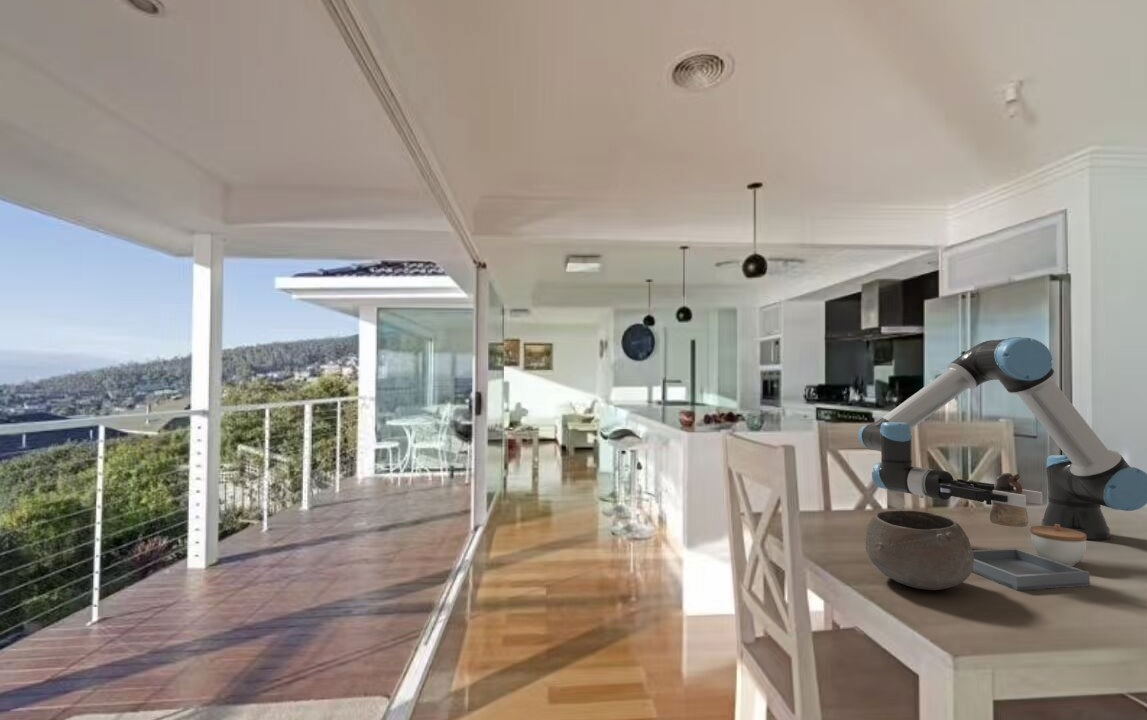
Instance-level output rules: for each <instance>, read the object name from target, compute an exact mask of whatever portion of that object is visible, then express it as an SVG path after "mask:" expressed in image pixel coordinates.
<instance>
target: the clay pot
mask: <svg viewBox="0 0 1147 720" xmlns="http://www.w3.org/2000/svg"><path fill="white" fill-rule="evenodd" d="M864 535H865V536H864V546H865V551H866V553H867V556H868V558H869V559H870V561H871V563H873V565H874V566H875V567H876V568H877V569H878V571H880V572H881V573H882V574H884V575H885V576H886V577H888V578H890V579H891V580H893V581H894V582H897V583H899V584H902V585H904V586H907V587H909V588H914V589H918V590H924V591H926V590H927V591H938V590H939V591H940V590H945V589H949V588H953V587H956V586H958V585H960V584H962V583H963V582H965V581H966V580H967V579H968V578H969V576H970V575H971V573H973V572H972V569H973V563H974V555H973V551H972V550H973V548H972V546H971V543H970V539H969V537H968V535H967V534H966V532H965V531H964V529H963V527H962V526H961V525H960V524H959V523H958V522H957V521H955V520H954V519H953V518H950V517H949V516H945V515H940V514H935V513H933V512H926V511H919V510H918V511H917V510H887V511H886V510H885V511H884V510H882V511H879V512H877V513H876V514H875V515H873V517H872V518H871V519H870V521H869V522H868V524H867V527H866V530H865V534H864Z"/></svg>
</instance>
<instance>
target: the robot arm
mask: <svg viewBox="0 0 1147 720" xmlns="http://www.w3.org/2000/svg"><path fill="white" fill-rule="evenodd" d="M1052 361H1053V355H1052V352H1051V351H1050V349H1049V347H1047V345H1045V344H1044V343H1042V342H1041V341H1039V340H1037V339H1035V338H1030V337H1021V336H1015V337H1013V336H1012V337H1009V338H1002V339H991V340H986V341H983V342H980V343H978V344H977V345H975V346H973V347H971V348H970V349H968V350H967V351H965V352H963V353H962V354H961V355H960V356H958V357H957V358H956V359H954V360H953V361H951V362H950V363H949V364H948V365H947V370H945V371H944V372H942V373H941V374H940V375H938V376H937V377H935V378H934V379H933V380H931V381H930V382H929V383H927V384H926V385H925V386H923V387H922V388H920V389H919V390H918V391H917V392H915V393H914V394H912V395H911V396H910V397H908V398H906V400H904V401H903V402H902V403H900V404H899V405H898V406H896V407H895V408H893V409H891V411H889V412H888V413H887V414H885V415H883V416H882V417H880V419H878V420H876V421H875V422H874V423H870V424H865V425H863V426H862V427H861V428H860V429H859V430H858V434H857V437H858V441H859V443H860V444H861V445H862V447H863V446H864V447H865V448H867V449H869V450H870V451H871V450H872V451H877V452H880V454H881V456H880V457H881V458H880V459H881V460H880V462H877V463H875V465H874V466H873V469H872V471H871V479H872V482H873V484H874V485H875V486H876V487H878V488H880V489H883V490H889V491H890V492H897V493H904V494H909V495H916V496H919V497H918V498H920V499H923V498H924V497H928V498H931V499H936V500H942V501H946V500H949V499H950V498H951V497H953V498H954V497H955V498H959V499H960V498H961V499H965V500H969V501H976V502H980V503H983V502H985V504H986V505H988V506H992V500H993V502H995V503H1001V504H1007V505H1013V506H1018V507H1024V508H1025V507H1026V508H1027V503H1031V504H1032V503H1033V504H1038V505H1043V492H1042V491H1038V490H1037V491H1036V490H1029V489H1023V488H1022V494H1014V493H1008V492H1002V491H995V490H994V488H995V487H994V484H995V483H989V482H982V481H977V480H966V479H960V478H957V479H956V480H955V479H954V477H953V475H952V474H951V473H950V472H949V471H947V470H939V469H932V468H927V467H918V466H913V464H912V462H913V460H912V459H913V457H912V456H913V455H912V438H913V436H912V431H911V430H912V429H914V428H916V426H917V425H919V424H920V423H922V422H923V421H925V420H926V419H927V418H929V417H930V416H932V415H933V414H934V413H936V412H937V411H939V410H940V409H942V408H943V407H944V406H946V405H947V404H948V403H950V402H951V401H952V400H954V399H956V397H958V396H960V395H961V394H962V393H964V392H965V391H966V390H968V389H969V390H973V389H975V388H977V387H978V386H980V385H981V384H983V383H986V382H990V381H997V380H998V381H999V382H1000V383H1001V385H1002V386H1003V387H1004V388H1005V390H1006V391H1007V392H1008V393H1009V394H1015V395H1018V396H1019V398H1020V399H1021V400H1022V401H1023V403H1024V404H1025V405H1026V406H1027V408H1028V409H1029V410H1030V411H1031V413H1032V414H1033V415H1034V417H1035V418H1036V419H1037V420H1038V423H1040V424H1041V426H1042V427H1043V428H1044V430H1045V431H1046V432H1047V434H1048V435H1049V436H1050V438H1051V439H1052V440H1053V441H1054V443H1055V444H1056V445H1057V446H1058V448H1059V449H1060V450H1061V451H1062V453H1063V454H1051V455H1049V456H1048V457H1047V459H1046V466H1045V469H1046V480H1047V482H1046V484H1047V500H1048V502H1047V507H1046V509H1045V512H1044V516H1043V518H1042V519H1041V526H1055V524H1059V525H1060V527H1063V528H1069V529H1073V530H1077V531H1080V532H1083V533H1085V534H1086V535H1087V539H1086V540H1094V541H1095V540H1100V541H1101V540H1108V539H1110V538H1111V530H1110V527H1109V526H1108V523H1107V521H1106V518H1105V515H1104V514H1103V512H1102V507H1101V506H1103V507H1106V508H1110V509H1113V510H1119V511H1125V512H1131V511H1136V510H1139V509H1142V508H1144V507H1145V506H1146V505H1147V472H1146V471H1144V470H1141V469H1139V468H1138V467H1135V466H1134V467H1133V466H1130V465H1129V463H1128V462H1127V461H1126V460H1125V458H1124V457H1123V456H1122V455H1121V453H1120V452H1118V451H1116V450H1112V449H1111V450H1110V449H1108V448H1107V447H1106V446H1105V444H1104V443H1103V442H1102V440H1101V439H1100V438H1099V437H1098V436H1097V434H1096V432H1095V431H1094V430H1093V429H1092V427H1090V425H1089V424H1088V423H1087V422H1086V419H1084V417H1083V416H1082V415H1081V414H1080V413H1079V411H1078V409H1076V407H1075V406H1074V404H1072V402H1071V401H1070V400H1069V399H1068V397H1067V396H1066V395H1065V394H1064V392H1063V391H1062V389H1061V388H1060V387H1059V386H1058V384H1057V383H1056V382H1055V381H1054V380H1053V379H1054V376H1055V374H1056V373H1055V370H1054V369H1053V368H1052V367H1053V363H1052ZM992 490H993V491H992ZM1014 490H1015V491H1016V488H1015V487H1014Z"/></svg>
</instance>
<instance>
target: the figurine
mask: <svg viewBox="0 0 1147 720" xmlns="http://www.w3.org/2000/svg"><path fill="white" fill-rule="evenodd" d="M1020 477H1021V476H1020V474H1017V473H1015V474H1014V475H1013V474H1012V473H1010V472H1002V473H1001V474H1000V475H999V476H997V477H996V481H995V482H994V483H993V484H994V487H995V488H994V490H995V491H1002V492H1008V493H1014V494H1022V489H1023V487H1022V484H1021V483H1020V482H1019V480H1020ZM1014 488H1016V491H1015V490H1014ZM992 491H993V490H992ZM991 502H992V505H991V510H990V514H989V515H990V516H989V521H990V522H991V523H992V524H996V525H999V526H1007V527H1013V528H1014V527H1015V528H1023V527H1027V526H1028V525H1029V516H1028V512H1027V511H1028V510H1027V506H1026V507H1025V508H1024V507H1018V506H1013V505H1007V504H1001V503H995V502H993V500H991Z"/></svg>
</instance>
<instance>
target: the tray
mask: <svg viewBox="0 0 1147 720" xmlns="http://www.w3.org/2000/svg"><path fill="white" fill-rule="evenodd" d="M972 551H973V555H974V563H973V569H972V572H971V573H973V572H974V574H975V573H976V575H978V574H979V576H980V575H981V577H982V578H985V579H988V580H990V581H992V580H993V582H996V583H998V584H999V585H1003V586H1005V587H1008V588H1010V589H1012V590H1014V591H1017V592H1019V591H1033V590H1032V589H1036V590H1046V589H1045V588H1051V589H1060V588H1059V587H1067V588H1076V587H1075V586H1082V587H1089V586H1088V585H1091V584H1090V583H1091V581H1090V579H1091V578H1090V572H1089V571H1087V570H1083V569H1080V568H1077V567H1075V566H1068V565H1065V564H1062V563H1059V562H1056V561H1053V560H1050V559H1047V558H1044V557H1041V556H1039V555H1038V554H1034V553H1032V552H1028V551H1025V550H1022V549H1019V548H1016V547H1013V548H1011V547H1010V548H993V549H976V550H975V549H974V550H973V549H972ZM1018 590H1019V591H1018Z"/></svg>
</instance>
